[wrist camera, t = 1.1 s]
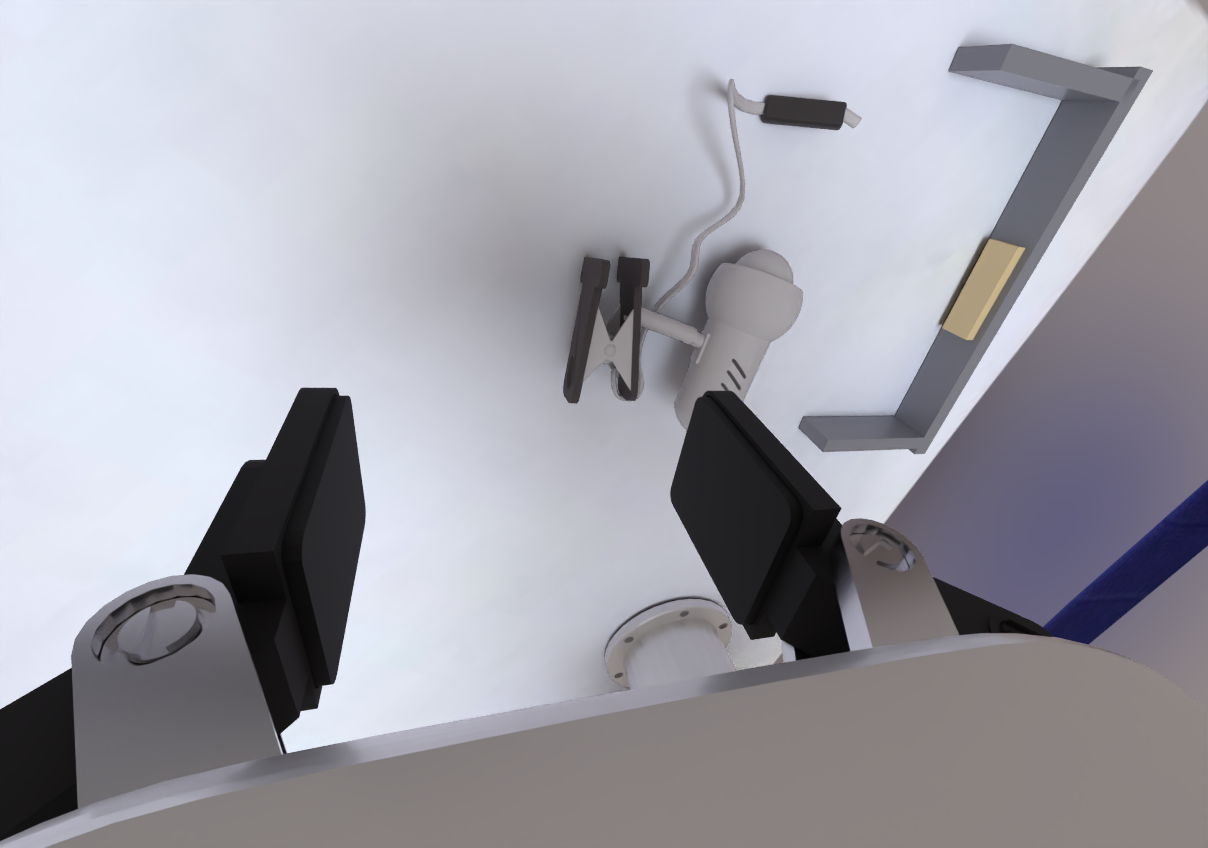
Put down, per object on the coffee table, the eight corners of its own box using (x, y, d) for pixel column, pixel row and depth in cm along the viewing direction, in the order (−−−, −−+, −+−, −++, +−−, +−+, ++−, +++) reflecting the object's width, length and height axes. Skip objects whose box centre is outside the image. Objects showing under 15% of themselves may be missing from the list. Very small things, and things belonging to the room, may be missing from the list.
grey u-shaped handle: (896, 431, 40) (924, 453, 38) (796, 433, 38) (820, 457, 35) (1092, 71, 28) (1153, 70, 25) (963, 35, 25) (1018, 30, 23)
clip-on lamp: (656, 39, 25) (539, 380, 29) (714, -24, 19) (557, 415, 23) (835, 147, 29) (710, 433, 33) (929, 122, 23) (762, 473, 27)
